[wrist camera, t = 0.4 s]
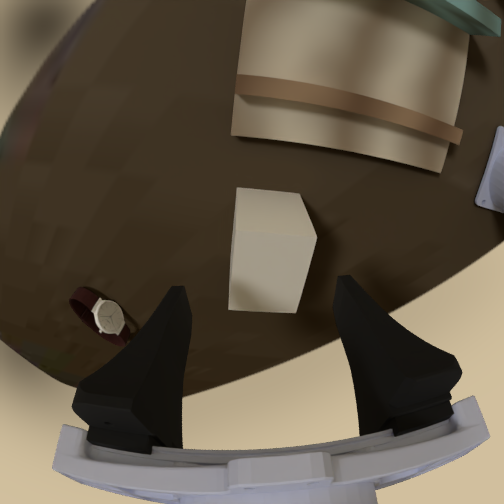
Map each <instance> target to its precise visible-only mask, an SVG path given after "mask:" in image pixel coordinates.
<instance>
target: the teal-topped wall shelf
mask: <svg viewBox="0 0 504 504" xmlns="http://www.w3.org/2000/svg"><path fill="white" fill-rule="evenodd" d="M500 33H501V19H500V18H499V17H497V16H496V15H495V14H493V13H492V12H491V11H489V10H488V9H487V8H485V7H484V6H483V5H481V4H480V3H478V2H477V1H475V0H246V7H245V15H244V22H243V30H242V38H241V46H240V54H239V63H238V71H237V77H236V86H235V98H234V108H233V118H232V128H231V135H233V136H245V137H255V138H265V139H274V140H282V141H289V142H297V143H304V144H310V145H317V146H323V147H329V148H335V149H340V150H346V151H351V152H356V153H361V154H366V155H370V156H375V157H380V158H384V159H388V160H393V161H397V162H401V163H405V164H409V165H413V166H416V167H420V168H424V169H428V170H431V171H435V172H438V173H441V170H442V167H443V164H444V161H445V157H446V154H447V150H448V147H449V143H450V142H452V143H455V144H457V145H459V144H460V141H461V137H462V133H463V130H461V129H459V128H457V127H454V124H455V119H456V115H457V111H458V106H459V101H460V96H461V91H462V86H463V80H464V74H465V68H466V61H467V54H468V45H469V35H485V36H497V37H500Z"/></svg>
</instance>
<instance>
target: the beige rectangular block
mask: <svg viewBox="0 0 504 504" xmlns="http://www.w3.org/2000/svg"><path fill="white" fill-rule="evenodd" d="M316 240H317V235H316V233H315V230H314V228H313V225H312V223H311V220H310V218H309V215H308V213H307V211H306V208H305V206H304V203H303V201H302V199H301V196H300V194H298V193H289V192H279V191H269V190H259V189H248V188H237V193H236V204H235V214H234V225H233V236H232V247H231V261H230V284H229V310H241V311H259V312H280V313H296V311H297V308H298V304H299V301H300V298H301V294H302V291H303V287H304V284H305V280H306V277H307V273H308V270H309V266H310V262H311V259H312V255H313V251H314V248H315V244H316Z"/></svg>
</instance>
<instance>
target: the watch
mask: <svg viewBox="0 0 504 504" xmlns="http://www.w3.org/2000/svg"><path fill="white" fill-rule="evenodd" d="M69 304H70V306H71V308H72V309H73V310H74V312H75V313H76V314H77V316H78V317H79V318H80V319H81V320H82V322H84V323H85V324H86V325H87V326H88V327H90V328H91V329H92V330H93V331H94V332H96V333H97V334H98V335H100V336H101V337H102V338H104V339H106V340H107V341H109V342H111V343H113V344H115V345H118V346H122V347H123V346H125V345H126V343H127V340H128V338H129V335H130V329H129V328H128V326H127V325H126V324H125V321H123V320H124V318H123V313H122V310H121V308H120V307H119V305H118V304H117V303H115V302H114V301H110V300H102V299H101V298H98V297H97V296H96V295H95V294H94V293H92V292H91V291H89V290H88V289H86V288H83V287H79V288H77V290H76V291H75V292H74V294H73V295H72V296H71V298H70V299H69ZM85 305H86V306H87V308H86V306H85ZM89 309H90V310H91V311H90V310H89ZM92 312H93V313H94V314H93V313H92Z"/></svg>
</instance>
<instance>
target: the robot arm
mask: <svg viewBox="0 0 504 504" xmlns="http://www.w3.org/2000/svg"><path fill="white" fill-rule="evenodd" d="M475 203H476V204H477V205H478V206H481V207H484V208H488V209H491V210H494V211H498V212H501V213H504V127H502V126H499V127H498V128H497V131H496V135H495V139H494V143H493V146H492V150H491V153H490V157H489V160H488V163H487V166H486V169H485V173H484V176H483V179H482V181H481V184H480V187H479V190H478V193H477V195H476V198H475ZM333 311H334V316H335V321H336V325H337V328H338V331H339V334H340V337H341V340H342V343H343V346H344V349H345V352H346V355H347V359H348V362H349V365H350V369H351V373H352V379H353V384H354V390H355V397H356V403H357V412H358V420H359V434H360V436H359V437H354V438H349V439H344V440H338V441H333V442H326V443H320V444H312V445H305V446H296V447H285V448H273V449H257V450H195V449H194V450H193V449H183V442H182V394H183V378H184V371H185V366H186V360H187V355H188V349H189V344H190V338H191V329H192V313H191V310H190V306H189V302H188V299H187V295H186V291H185V287H184V286H172V287H171V288H170V289H169V291H168V292H167V294H166V295H165V297H164V298H163V300H162V301H161V303H160V304H159V306H158V307H157V309H156V310H155V311H154V313H153V314H152V316H151V317H150V318H149V320H148V321H147V322H146V324H145V325H144V326H143V327H142V329H141V330H140V331H139V332H138V334H137V335H136V336H135V337H134V338H133V339H132V340H131V341H130V342H129V344H128V345H127V346H126V347H125V348H124V349H123V350H121V351H120V352H119V353H118V354H117V355H116V356H115V357H114V358H113V359H111V360H110V361H109V362H108V363H107V364H105V365H104V366H103V367H101V368H100V369H99V370H97V371H96V372H94V373H93V374H91V375H90V376H88V377H87V378H85V379H83V380H82V381H80V382H79V385H78V387H77V390H76V393H75V397H74V400H73V404H72V409H73V411H74V412H75V413H76V414H77V415H78V416H79V417H80V418H81V419H82V420H83V421H85V422H86V423H87V424H88V425H89V430H88V431H86V430H84V429H81V428H78V427H73V426H69V425H65V424H63V426H62V429H61V432H60V437H59V440H58V444H57V449H56V453H55V457H54V461H53V466H52V469H53V470H55V471H57V472H59V473H61V474H62V475H65V476H66V477H68V478H70V479H73V480H75V481H77V482H79V483H81V484H84V485H88V486H91V487H94V488H98V489H101V490H105V491H109V492H113V493H117V494H121V495H125V496H129V497H134V498H138V499H143V500H148V501H153V502H158V503H165V504H378V503H377V498H376V492H375V490H378V489H381V488H385V487H388V486H391V485H394V484H397V483H399V482H403V481H405V480H408V479H411V478H413V477H416V476H419V475H421V474H424V473H426V472H428V471H431V470H433V469H435V468H438V467H440V466H442V465H445V464H447V463H449V462H451V461H454V460H456V459H458V458H460V457H462V456H464V455H466V454H467V453H469V452H470V451H472V450H473V449H474V448H476V447H477V446H479V445H480V444H482V443H483V442H484V441H486V440H487V439H489V437H490V434H489V432H488V429H487V426H486V423H485V421H484V418H483V416H482V413H481V411H480V408H479V406H478V403H477V401H476V399H475V396H471V397H468V398H466V399H463V400H461V401H458V402H456V403H455V404H453V405H452V406H451V403H450V401H449V400H451V399H452V396H451V394H450V391H451V389H452V388H453V387H454V386H455V385H456V384H457V382H458V381H459V379H460V378H461V375H462V370H461V368H460V366H459V363H458V361H457V359H456V358H455V356H454V355H452V354H450V353H447V352H445V351H443V350H441V349H439V348H437V347H435V346H432V345H431V344H429V343H427V342H425V341H424V340H422V339H420V338H419V337H417V336H416V335H414V334H413V333H411V332H410V331H409V330H407V329H406V328H404V327H403V326H402V325H401V324H399V323H398V322H397V321H395V320H394V319H393V318H392V317H391V316H390V315H389V314H387V313H386V312H385V311H384V310H383V309H382V308H381V307H380V306H379V305H378V304H377V303H376V302H375V301H374V300H373V299H372V298H371V297H370V296H369V295H368V294H367V293H366V292H365V291H364V289H363V288H362V287H361V286H360V285H359V284H358V283H357V282H356V281H355V280H354V279H353V278H352V277H351V276H350V275H344V276H338V279H337V285H336V291H335V297H334V302H333Z"/></svg>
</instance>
